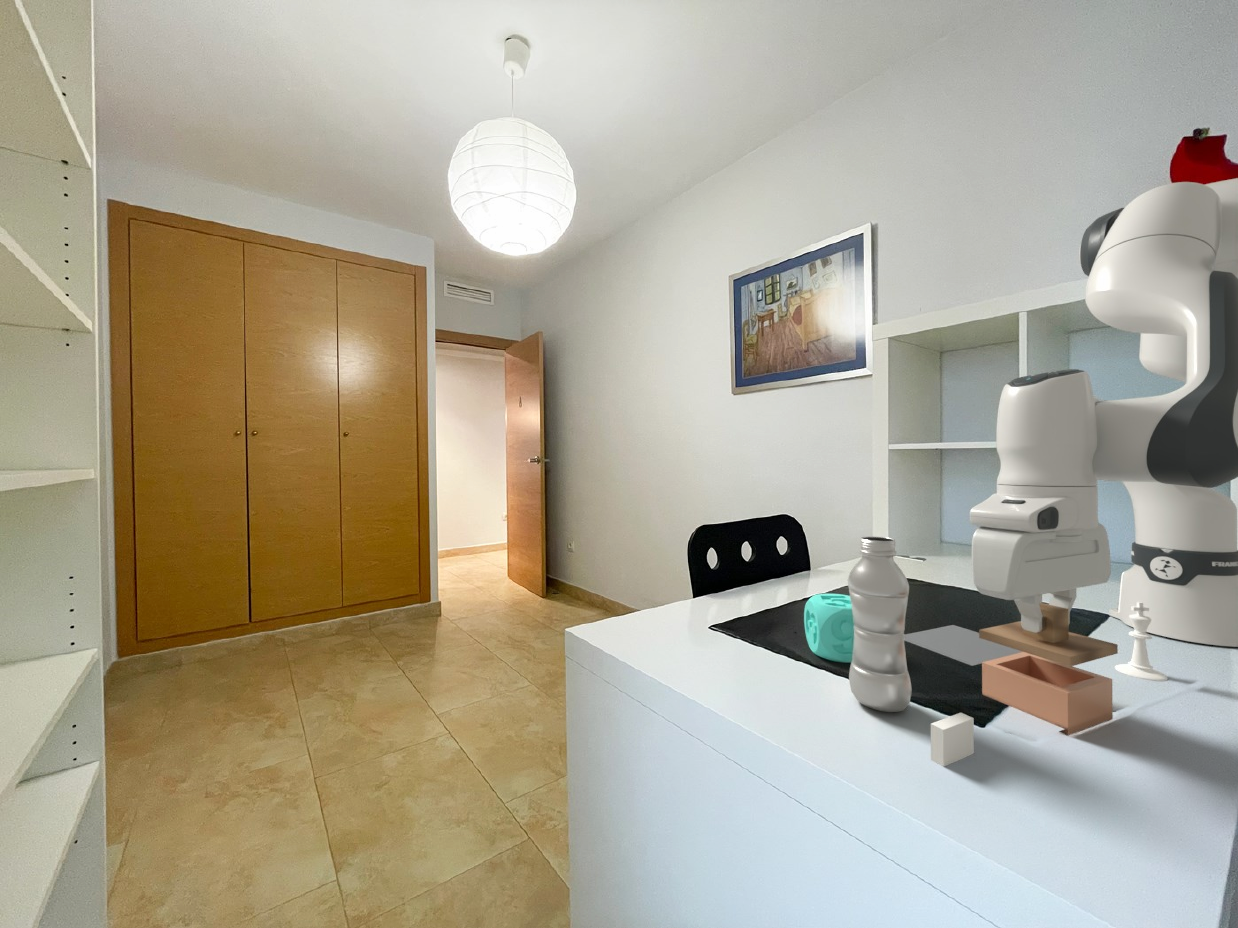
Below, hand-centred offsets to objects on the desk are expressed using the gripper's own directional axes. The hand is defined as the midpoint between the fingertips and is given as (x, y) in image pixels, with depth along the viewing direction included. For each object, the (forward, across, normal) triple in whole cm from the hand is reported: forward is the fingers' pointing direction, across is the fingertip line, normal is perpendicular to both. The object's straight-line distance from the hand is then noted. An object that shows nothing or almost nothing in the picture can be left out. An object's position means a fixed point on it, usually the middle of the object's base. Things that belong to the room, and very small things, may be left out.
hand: (1045, 627), depth 56 cm
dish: (+10, 0, 0) cm, 10 cm away
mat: (+10, -10, -16) cm, 21 cm away
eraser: (+10, +19, +2) cm, 21 cm away
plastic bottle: (+10, +17, -8) cm, 21 cm away
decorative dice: (+10, +9, -22) cm, 26 cm away
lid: (+2, 0, 0) cm, 2 cm away
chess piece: (+10, -21, 0) cm, 23 cm away
